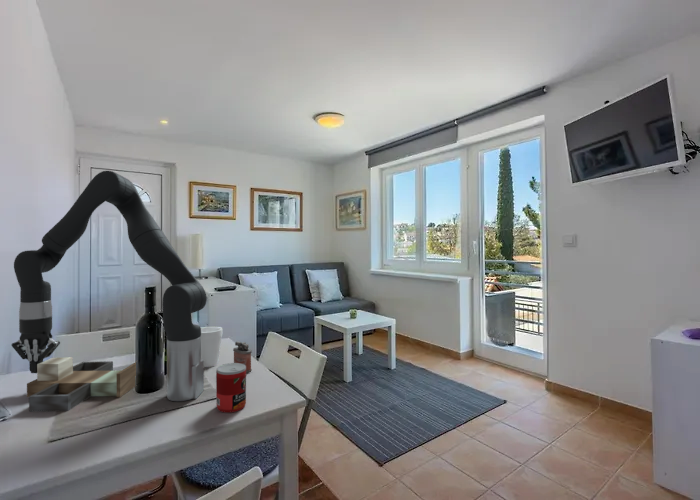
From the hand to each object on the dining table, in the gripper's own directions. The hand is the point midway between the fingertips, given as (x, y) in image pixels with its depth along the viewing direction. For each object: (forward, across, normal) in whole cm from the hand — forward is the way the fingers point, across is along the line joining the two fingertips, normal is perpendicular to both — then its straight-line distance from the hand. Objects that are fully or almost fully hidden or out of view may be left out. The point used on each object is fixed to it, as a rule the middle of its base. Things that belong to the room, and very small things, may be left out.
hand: (36, 372), depth 109 cm
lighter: (+5, -58, -15) cm, 60 cm away
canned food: (+5, -62, +13) cm, 64 cm away
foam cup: (+5, -44, -22) cm, 50 cm away
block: (+1, -6, 0) cm, 6 cm away
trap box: (+5, -14, 0) cm, 15 cm away
